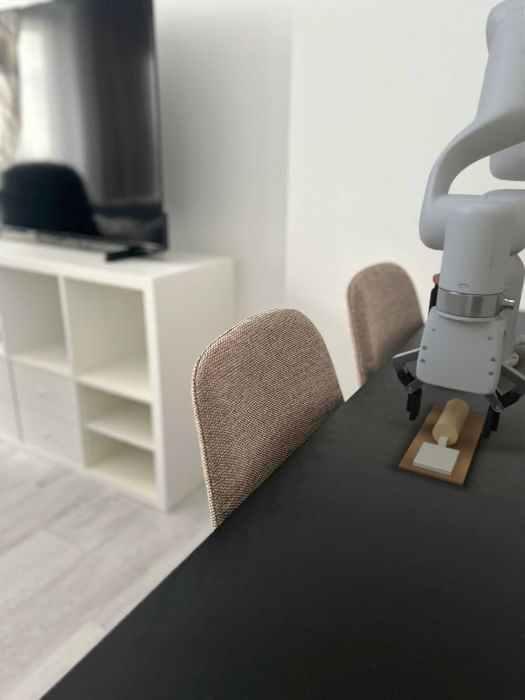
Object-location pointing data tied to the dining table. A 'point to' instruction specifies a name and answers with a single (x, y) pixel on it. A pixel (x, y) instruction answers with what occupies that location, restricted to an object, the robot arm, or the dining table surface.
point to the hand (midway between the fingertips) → (449, 425)
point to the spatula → (444, 439)
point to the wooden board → (463, 444)
